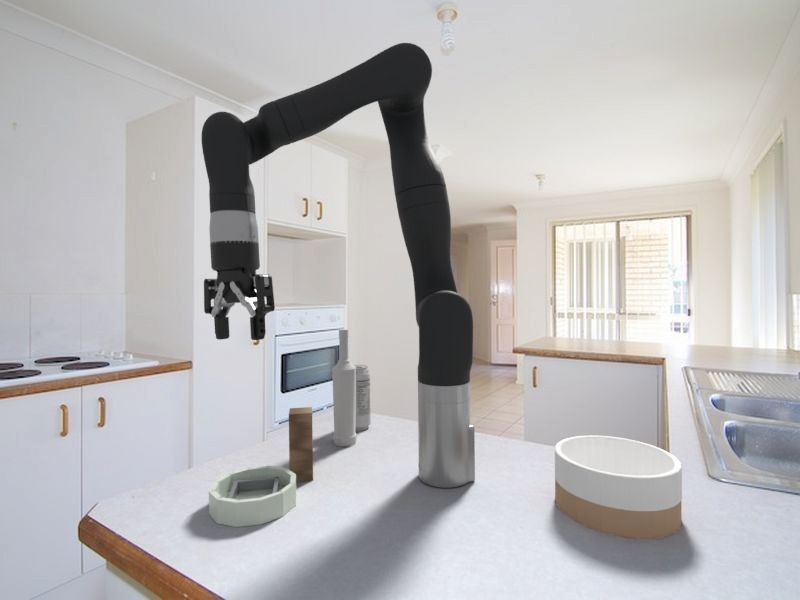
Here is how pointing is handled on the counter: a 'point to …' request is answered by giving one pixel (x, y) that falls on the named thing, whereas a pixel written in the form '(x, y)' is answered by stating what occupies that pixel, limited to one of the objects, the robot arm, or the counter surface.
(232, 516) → the pale green faceted dish
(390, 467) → the counter surface
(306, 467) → the brown wooden block
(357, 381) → the energy drink can
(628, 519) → the bowl
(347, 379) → the bottle
